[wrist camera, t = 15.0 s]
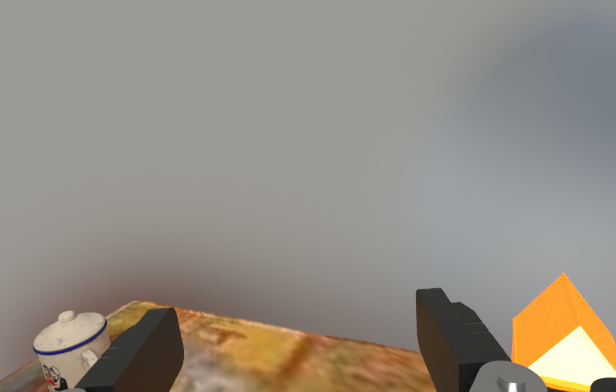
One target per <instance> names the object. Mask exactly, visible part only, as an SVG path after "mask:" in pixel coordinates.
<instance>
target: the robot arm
mask: <svg viewBox="0 0 616 392" xmlns="http://www.w3.org/2000/svg"><path fill="white" fill-rule="evenodd" d="M416 317H417V337H418V343H419V347H420V351H421V354H422V357H423V359H424V361H425V364H426V366H427V369H428V371H429V374H430V376H431V378H432V381H433V383H434V386H435V388H436V391H437V392H570V391H564V390H558V389H554V388H550V387H547V386H546V384H545V382H544V381H543V379H542V378H541V377H540V376H539V375H538V374H537V373H535V372H534V371H532V370H531V369H529V368H527V367H525V366H523V365H520V364H518V363H514V362H512V361H511V359H510V358H509V357H508V356H507V354H506V353H505V351H504V350H503V349H502V348H501V346H500V345H499V344H498V342H497V341H496V340H495V338H494V337H493V336H492V334H491V333H489V330H488V329H487V328H486V326H485V325H484V324H482V321H481V320H480V318H479V317H478V316H477V314H476V313H475V312H474V311H473V310H472V309H470V308H469V307H467V306H466V305H464V304H462V303H461V302H456V303H451V302H450V301H449V299H448V298H447V296H446V295H445V293H444V292H443V290H442V289H441V288H431V289H418V290H417V291H416ZM183 360H184V347H183V342H182V338H181V333H180V328H179V323H178V318H177V314H176V311H175V309H174V308H159V309H149V310H148V311H147V312H146V313H145V315H144V316H143V317H142V318H141V319H140V321H139V322H138V323H137V324H136V325H134V326H132V327H130V328H129V329H127V330H126V331H124V332H123V333H122V334H120V335H119V336H118V337H117V338H116V339H115V340H114V341H113V343H112V344H111V345H110V346H109V349H107V350H106V351H105V352H104V353H103V354H102V355H101V358H100V359H98V360H97V361H96V362H95V363H94V365H93V366H92V367H91V368H90V369H89V370H88V372H87V373H86V374H85V375H84V376H83V377H82V379H81V380H80V381H79V382H78V383H77V384H76V386H75V387H74V388H72V389H66V390H63V391H60V392H169V391H170V389H171V387H172V385H173V383H174V381H175V379H176V377H177V376H178V374H179V372H180V370H181V368H182V365H183ZM590 392H616V377H604V378H599V379H597V380H595V381H593V382H592V384H591V385H590Z"/></svg>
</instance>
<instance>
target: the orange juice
mask: <svg viewBox="0 0 616 392" xmlns="http://www.w3.org/2000/svg"><path fill="white" fill-rule="evenodd" d="M512 362H514V363H518V364H520V365H523V366H525V367H527V368H529V369H531V370H532V371H534V372H535V373H537V374H538V375H539V376H540V377H541V378H542V379H543V381H544V382H545V384H546V386H547V387H550V388H554V389H558V390H564V391H570V392H590V385H591V384H592V382H593V381H595V380H597V379H599V378H604V377H616V346H615V343H614V340H613V338H612V336H611V334H610V332H609V331H608V330H607V329H606V327H605V326H604V325H603V323H602V322H601V321H600V319H599V318H598V317H597V316H596V314H595V313H594V312H593V310H592V309H591V308H590V307H589V305H588V304H587V303H586V301H585V300H584V299H583V297H582V296H581V295H580V294H579V292H578V291H577V290H576V288H575V287H574V286H573V284H572V283H571V282H570V281H569V279H568V278H567V277H566V275H565V274H564V273H563V274H562V275H561V276H560V277H559V278H558V279H557V280H556V281H555V282H554V283H552V285H550V286H549V287H548V288H547V289H546V290H545V291H544V292H543V293H542V294H540V295H539V296H538V297H537V298H536V299H535V300H534V301H533V302H532V303H531V304H530V305H528V306H527V307H526V308H525V309H524V310H523V311H522V312H521V313H520V314H519V315H518V316H517V317H514V319H513V349H512Z"/></svg>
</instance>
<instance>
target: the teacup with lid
mask: <svg viewBox="0 0 616 392" xmlns="http://www.w3.org/2000/svg"><path fill="white" fill-rule="evenodd" d="M58 319H59V320H58V321H56V322H55V323H54V324H52V325H50V326H48V327H47V328H45V329H44V330H43V331H42V332H41V333H39V334H38V336H37V337H36V339H35V341H34V346H33V349H34V351H35V352H36V353H37V354H38V357H39V360H40V364H41V367H42V370H43V373H44V376H45V379H46V382H47V385H48V389H49V392H60V391H63V390H66V389H72V388H74V387H75V386H76V384H77V383H78V382H79V381H80V380H81V379H82V377H83V376H84V375H85V374H86V373H87V372H88V370H89V369H90V368H91V367H92V366H93V365H94V363H95V362H96V361H97V360H98V359H100V358H101V355H102V354H103V353H104V352H105V351H106V350H107V349H109V346H110V345H111V343H110V339H109V335H108V332H107V328H106V325H107V321H106V319H105V318H104V316H102V315H101V314H98V313H81V314H75V313H74V312H73V311H66V312H63V313H62V314H60V315H59V317H58Z"/></svg>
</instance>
